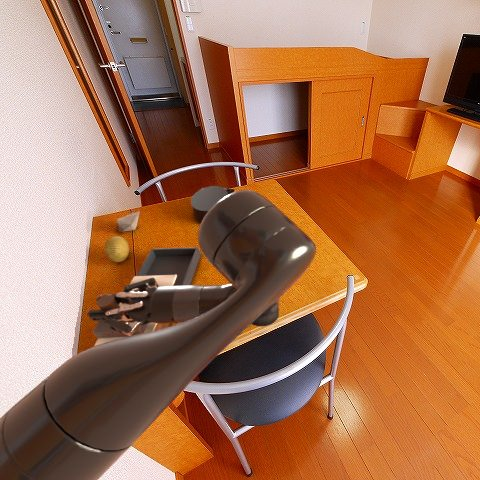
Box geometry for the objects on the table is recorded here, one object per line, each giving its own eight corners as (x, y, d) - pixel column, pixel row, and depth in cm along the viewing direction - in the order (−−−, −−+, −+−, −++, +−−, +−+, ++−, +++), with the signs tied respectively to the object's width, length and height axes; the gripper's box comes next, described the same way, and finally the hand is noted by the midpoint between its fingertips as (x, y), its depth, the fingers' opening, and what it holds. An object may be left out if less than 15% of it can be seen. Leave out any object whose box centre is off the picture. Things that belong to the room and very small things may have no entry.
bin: (185, 297, 76) (182, 289, 74) (131, 299, 75) (126, 292, 73) (200, 254, 89) (198, 247, 87) (155, 256, 88) (151, 248, 86)
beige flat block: (156, 358, 63) (146, 345, 59) (105, 361, 62) (92, 348, 58) (182, 288, 79) (176, 274, 75) (142, 290, 78) (134, 276, 74)
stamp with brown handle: (142, 335, 59) (123, 310, 53) (98, 338, 58) (73, 312, 52) (151, 315, 63) (134, 289, 57) (109, 318, 62) (87, 292, 56)
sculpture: (121, 250, 90) (110, 231, 85) (134, 249, 90) (124, 230, 85) (110, 268, 84) (97, 248, 79) (124, 267, 84) (112, 247, 79)
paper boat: (104, 231, 95) (114, 211, 100) (123, 240, 99) (132, 220, 105) (124, 220, 90) (133, 199, 95) (143, 229, 94) (151, 209, 100)
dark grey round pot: (190, 227, 102) (184, 211, 96) (201, 198, 114) (196, 183, 109) (230, 227, 103) (227, 211, 98) (236, 198, 116) (234, 183, 111)
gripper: (186, 266, 60) (103, 269, 59) (164, 323, 49) (61, 328, 48) (196, 288, 65) (119, 292, 63) (177, 344, 54) (84, 349, 53)
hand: (94, 307), depth 56 cm, fingers closed on stamp with brown handle, 3 cm apart
